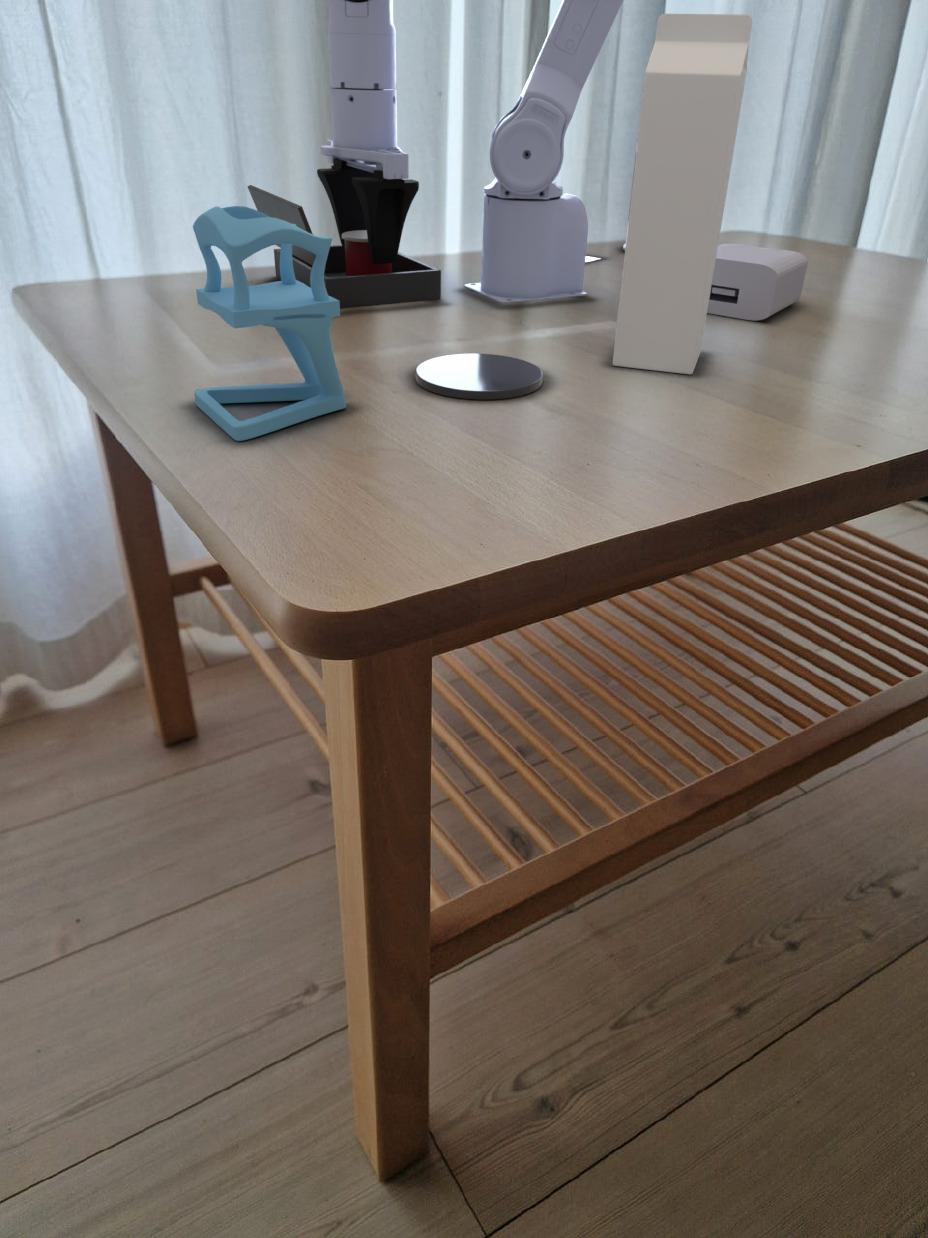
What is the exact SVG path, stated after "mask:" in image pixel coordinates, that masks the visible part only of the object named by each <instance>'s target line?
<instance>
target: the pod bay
mask: <svg viewBox="0 0 928 1238" xmlns="http://www.w3.org/2000/svg"><path fill="white" fill-rule="evenodd" d="M280 251H281V248H274V249H273V256H274V257H273V258H274V259H273V260H274V270H275V271H274V272H275V277H276V278H277V279H278V280H281V275H280ZM292 261H293V269H294V275H295V279H296V280H297V281H299V282H302V283H304V284H305V285H307V286H308V287H310V288H311V285H310V275H311V270H312V267H313V266H312V265H310V264H309V263H307V262H305V261H303V260H301V259H300V258H298V257H296V256H294V255H293V254H292ZM325 266H326V269H327V270H325V271H324V283H325V288H326V291H327V294H328V296H331V297H333V298H335V299H337V300H339V301H340V310H342V309H352V308H361V307H362V308H363V307H373V306H384V305H395V304H396V305H397V304H407V303H417V302H428V301H438V300H439V301H440V300H441V298H442V270H441V269H439V268H437V267H434V266H432V265H429V264H427V263H425V262H422V261H420V260H418V259H416V258H413V257H411V256H409V255H406V254H405V253H401V252H399V251H398V255H397V259H396V262H395V263H392V273H384V274H371V275H358V276H346V259H345V249H343V247H342V244H336V245H335V244H334V245H333V244H332V245H331V246H330V249H329V253H328V257H327V261H326V265H325Z"/></svg>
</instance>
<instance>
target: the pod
mask: <svg viewBox="0 0 928 1238" xmlns="http://www.w3.org/2000/svg"><path fill="white" fill-rule="evenodd" d="M342 238H343V239H345V259H346V276H358V275H371V274H384V273H392V263H388V264H374V263H373V262H372V259H371V255H370V251H369V244H368V236H367V230H357V231H348V232H344V233H342Z"/></svg>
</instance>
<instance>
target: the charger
mask: <svg viewBox="0 0 928 1238" xmlns="http://www.w3.org/2000/svg"><path fill="white" fill-rule="evenodd" d="M808 265H809V261H808V258H807V257H806V256H805V255H804V254H803V253H800V252H798V251H794V250H788V249H778V248H771V247H764V246H755V245H748V244H741V243H729V242H726V243H721V244H718V249H717V255H716V261H715V267H714V273H713V279H712V285H711V291H710V298H709V304H708V310H707V314H710V315H717V316H722V317H728V318H735V319H739V320H746V321H755V322H756V321H763V320H766V319H767V318H769V317H771V316H773V315H775V314H776V313H778V312H780V311H782V310H783V309H785V308H787V307H789V306H791V305H792V304H795V303H796V302H798V301H799V300H800V299H801V296H802V293H803V288H804V283H805V279H806V274H807V269H808Z"/></svg>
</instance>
